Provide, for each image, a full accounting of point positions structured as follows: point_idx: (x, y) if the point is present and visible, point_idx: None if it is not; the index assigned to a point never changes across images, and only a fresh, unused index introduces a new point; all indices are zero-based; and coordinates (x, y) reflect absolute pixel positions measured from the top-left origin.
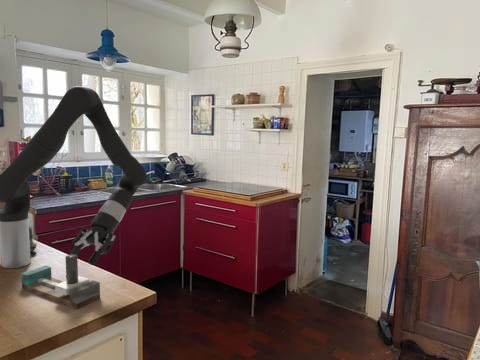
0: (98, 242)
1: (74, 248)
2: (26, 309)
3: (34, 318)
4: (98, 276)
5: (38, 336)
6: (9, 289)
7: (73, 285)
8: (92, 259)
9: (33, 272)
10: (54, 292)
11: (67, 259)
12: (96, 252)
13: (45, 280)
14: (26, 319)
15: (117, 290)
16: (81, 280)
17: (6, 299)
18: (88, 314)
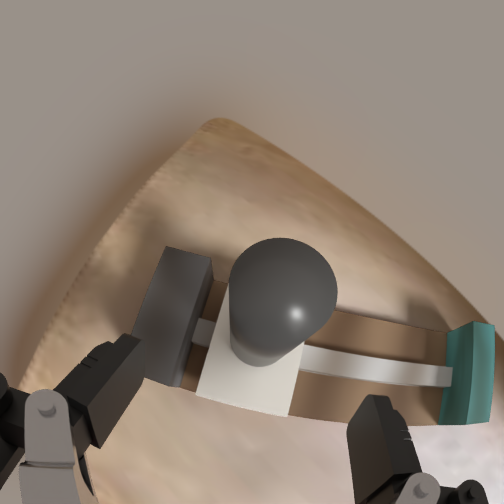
0: (21, 472)
1: (401, 454)
2: (337, 238)
3: (270, 204)
4: None
5: (196, 152)
6: None
7: (225, 304)
8: (104, 352)
9: (477, 351)
10: (331, 328)
11: (282, 245)
12: (68, 399)
13: (426, 375)
14: (286, 196)
15: (119, 448)
16: (226, 369)
17: (433, 271)
18: (125, 258)
